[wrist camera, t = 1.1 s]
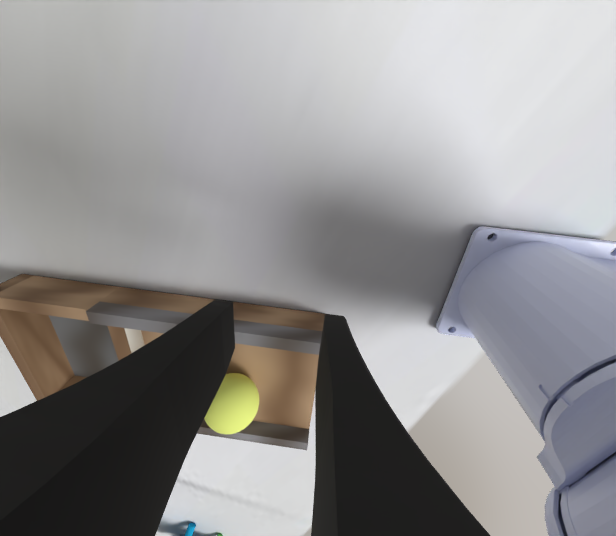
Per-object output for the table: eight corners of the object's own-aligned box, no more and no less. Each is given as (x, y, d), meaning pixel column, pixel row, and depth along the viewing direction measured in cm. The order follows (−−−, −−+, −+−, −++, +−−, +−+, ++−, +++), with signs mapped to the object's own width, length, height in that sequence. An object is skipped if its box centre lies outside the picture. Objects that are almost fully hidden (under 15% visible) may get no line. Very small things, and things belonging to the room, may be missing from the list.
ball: (265, 365, 20) (250, 414, 17) (264, 399, 22) (250, 450, 19) (213, 357, 21) (188, 405, 17) (217, 392, 22) (194, 442, 19)
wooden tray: (325, 313, 20) (323, 343, 17) (310, 414, 26) (306, 450, 23) (21, 273, 21) (-27, 296, 18) (70, 379, 27) (38, 409, 24)
